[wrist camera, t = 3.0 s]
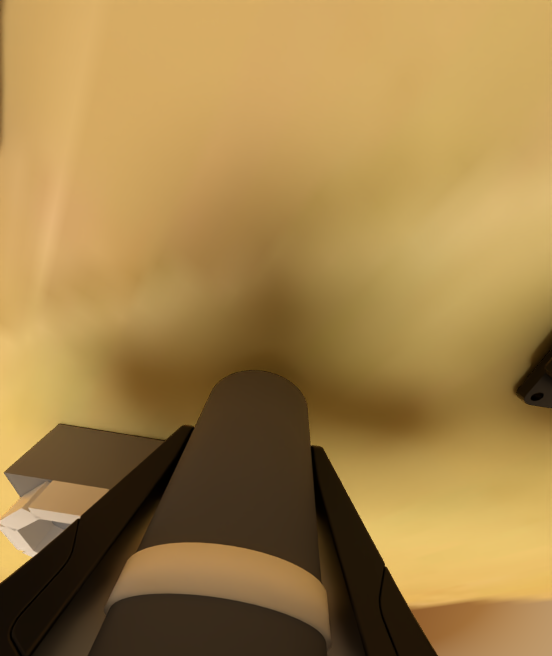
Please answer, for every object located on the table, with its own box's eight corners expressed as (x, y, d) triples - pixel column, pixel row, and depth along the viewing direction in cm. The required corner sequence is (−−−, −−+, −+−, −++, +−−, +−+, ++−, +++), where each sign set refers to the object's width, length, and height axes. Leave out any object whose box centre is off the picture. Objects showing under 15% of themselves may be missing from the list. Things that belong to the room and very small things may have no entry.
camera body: (229, 451, 14) (202, 553, 10) (224, 514, 18) (202, 609, 13) (58, 423, 14) (-45, 514, 10) (88, 493, 18) (22, 581, 13)
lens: (321, 378, 9) (397, 805, 2) (298, 451, 11) (308, 785, 4) (207, 359, 9) (-24, 740, 2) (206, 436, 11) (81, 751, 4)
